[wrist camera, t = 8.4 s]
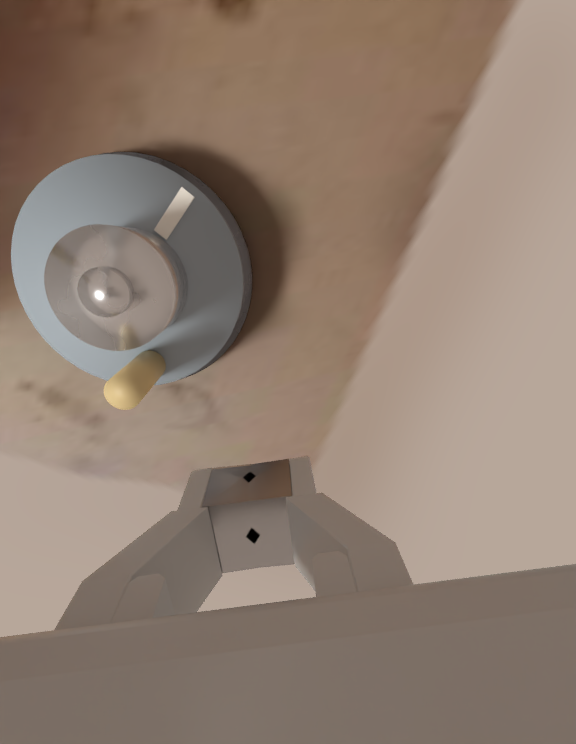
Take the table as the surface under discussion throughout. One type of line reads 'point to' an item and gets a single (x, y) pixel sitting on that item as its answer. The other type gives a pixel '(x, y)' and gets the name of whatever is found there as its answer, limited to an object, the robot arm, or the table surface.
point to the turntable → (150, 213)
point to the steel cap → (115, 285)
